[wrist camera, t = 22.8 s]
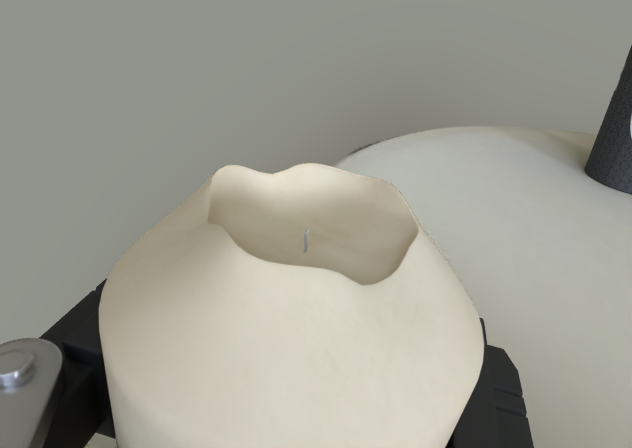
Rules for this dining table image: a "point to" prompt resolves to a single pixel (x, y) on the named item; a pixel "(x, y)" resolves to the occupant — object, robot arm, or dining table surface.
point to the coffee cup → (615, 138)
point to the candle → (288, 320)
